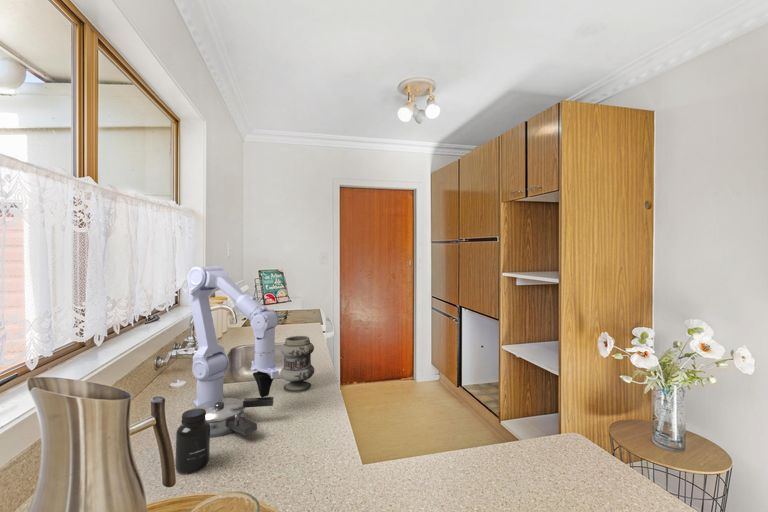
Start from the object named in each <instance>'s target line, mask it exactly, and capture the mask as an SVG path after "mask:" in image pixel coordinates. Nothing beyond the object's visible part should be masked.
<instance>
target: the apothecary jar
mask: <svg viewBox="0 0 768 512" xmlns="http://www.w3.org/2000/svg"><path fill="white" fill-rule="evenodd" d="M284 340H285V341H284V344H282V346H281V348H280V353H281V354H282V355H283V367H282V368H281V370H280V371H279V373H280V374H279V375H280V377H281V378H282V379H283V381H286V382H287V383H286V384H285V385H284V386H283V391H285V392H286V393H290V394H292V393H293V394H294V393H296V394H297V393H302V392H306V391H308V390H310V389H311V388H312V384H311V383H310V382H309V381H308V380H309V379H311V378H312V377H313V375H314V374H315V368H314V366H313V365H312V362H311V361H312V360H311V357H312V353H313V352H314V351H315V346H314V344H313V343H312V342H311V341H310V337H309V336H306V335H294V336H287V337H286V338H285V339H284Z"/></svg>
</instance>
